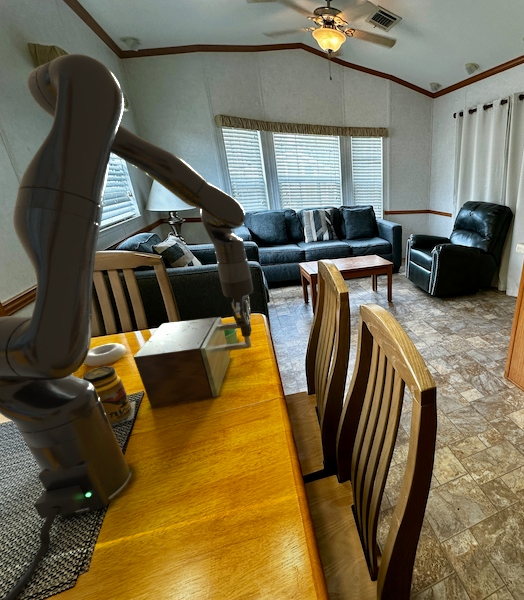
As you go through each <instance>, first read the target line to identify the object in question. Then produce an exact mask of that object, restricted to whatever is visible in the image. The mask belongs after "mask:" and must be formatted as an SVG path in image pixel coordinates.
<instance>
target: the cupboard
mask: <svg viewBox="0 0 524 600" xmlns="http://www.w3.org/2000/svg"><path fill="white" fill-rule="evenodd" d="M216 319H217V317H208V318H207V317H206V318H199V319H189V320H182V321H172V322H171V321H170V322H163V323H161V325H160V326H159V327H158V328H157V329H156V331H155V332H153V334H152V335H151V336H150V337H149V339H148V340H147V341H146V342H145V343H144V344H143V345H142V347H141V348H140V349H139V350H138V351H137V352H136V353H135V354H134V355H133V360H134V363H135V366H136V368H137V372H138V374H139V377H140V380H141V383H142V386H143V388H144V391H145V395H146V397H147V399H148V402H149V405H150V408H151V409H152V408H158V407H165V406H170V405H175V404H182V403H186V402H193V401H199V400H200V401H201V400H205V399H210V398H213V394H212V391H211V387H210V383H209V379H208V376H207V372H206V368H205V364H204V361H203V357H202V353H201V347H202V345H203V343H204V341H205V339H206V338H207V336H208V334H209V332H210V330H211V328H212V326H213V324H214V323H215V321H216Z"/></svg>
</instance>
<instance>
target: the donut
mask: <svg viewBox="0 0 524 600" xmlns="http://www.w3.org/2000/svg"><path fill="white" fill-rule="evenodd" d="M126 352H127V348H126V346H125V345H124V344H121V343H115V342H114V343H106V344H102V345H97V346H95V347H92V348H91V349H89V352H88V355H87V358H86V360H85V361H84V363H83V365H85V366H88V367H103V366H107V365H109V364H112V363H114V362H118V361H119V360H120V359H122V358H123V357H124V356H125V354H126Z"/></svg>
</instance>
